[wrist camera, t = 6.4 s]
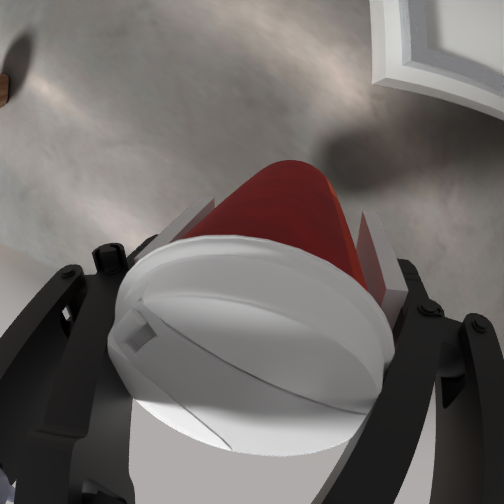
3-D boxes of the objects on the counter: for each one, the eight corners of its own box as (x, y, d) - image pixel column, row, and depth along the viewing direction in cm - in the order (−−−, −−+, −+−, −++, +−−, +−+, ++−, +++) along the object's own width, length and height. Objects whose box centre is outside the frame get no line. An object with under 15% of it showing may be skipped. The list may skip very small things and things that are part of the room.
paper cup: (209, 199, 19) (66, 356, 7) (292, 116, 15) (199, 166, 3) (290, 276, 21) (246, 471, 9) (377, 210, 17) (447, 418, 5)
